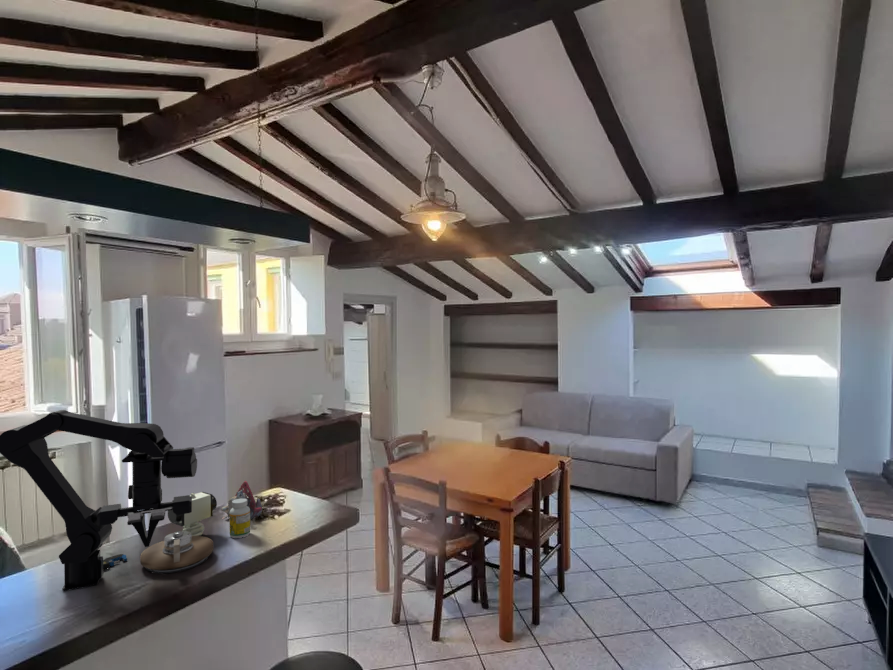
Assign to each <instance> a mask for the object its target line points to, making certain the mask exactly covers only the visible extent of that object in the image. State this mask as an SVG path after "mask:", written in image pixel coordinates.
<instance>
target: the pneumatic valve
mask: <svg viewBox="0 0 893 670" xmlns="http://www.w3.org/2000/svg"><path fill="white" fill-rule="evenodd" d="M189 495H190V496H191V497H192V512H191V513H187V514H180V515H176V514H175V513H173V510H169V511H167V518H168V520H169V522H170V523H171V524H174V525H177V526H180V527H182V530H181V531H188V532H191V534H192V536H202V535H203V532H204V531H205V525H204V523H201V522H202V521H204V520H206V519H208V518H212V517H213V513H214V511H215V510H216V509H217V505H218V502H217V499H216V497H215V496H214V495H213V493H208V492H206V491H201V492H197V493H195V492H193V493H190V494H189ZM171 502H173V500H172V501H171Z"/></svg>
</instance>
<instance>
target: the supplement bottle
mask: <svg viewBox="0 0 893 670" xmlns="http://www.w3.org/2000/svg"><path fill="white" fill-rule="evenodd" d="M247 504H248V503H247V499H235V500H233V501H232V507H233V508H232V509H231V510H230V512H229V517H228V518H229V536H230V537H231V538H232V539H242V537H243V538H246V537H248V536H249V535H250V534H251V520H250V508H249V507H248V506H247Z"/></svg>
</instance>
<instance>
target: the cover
mask: <svg viewBox="0 0 893 670" xmlns="http://www.w3.org/2000/svg"><path fill="white" fill-rule="evenodd" d="M177 539H180V554H181V553H184V552H187V551H189V550H191V549H192V548H193V543H192V534H191V532H188V531H182V530H179V531H175V532H171V533H169V534H166V535H165V536H164V538H163V541H164V548H163V553H164V554H166V555H174V540H177Z"/></svg>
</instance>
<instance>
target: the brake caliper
mask: <svg viewBox="0 0 893 670" xmlns="http://www.w3.org/2000/svg"><path fill="white" fill-rule="evenodd" d="M235 499H247V503H248V504H247V506H248V507H249V508H250V521H252V520H253V519H255V518H257V517H256V516H258V517H259V516H260V515H261V514H262V513H263V512H262V511H263V506H262V505H263V504H262V501H261V499H260V498H256V499H255V496H254V494H253V492H252V490H251V488H250V485H249V483H248V481H247V480H244V481H243V482H242V483H241V485H240V487H239V489H238V490H237V491H236V494H235V495H234V496H233V497H230V498H229V500H228V504H227V505H226V506H222V507H221V510H220V511H221V512H223V513H226V515H225V516H222V518H221V519H222V520H223V519H224V518H225V519H228V518H229V512H230V510H231V509H232V508H233V507H232V501H233V500H235ZM227 517H228V518H227ZM254 517H255V518H254ZM252 518H253V519H252ZM251 519H252V520H251Z"/></svg>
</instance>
